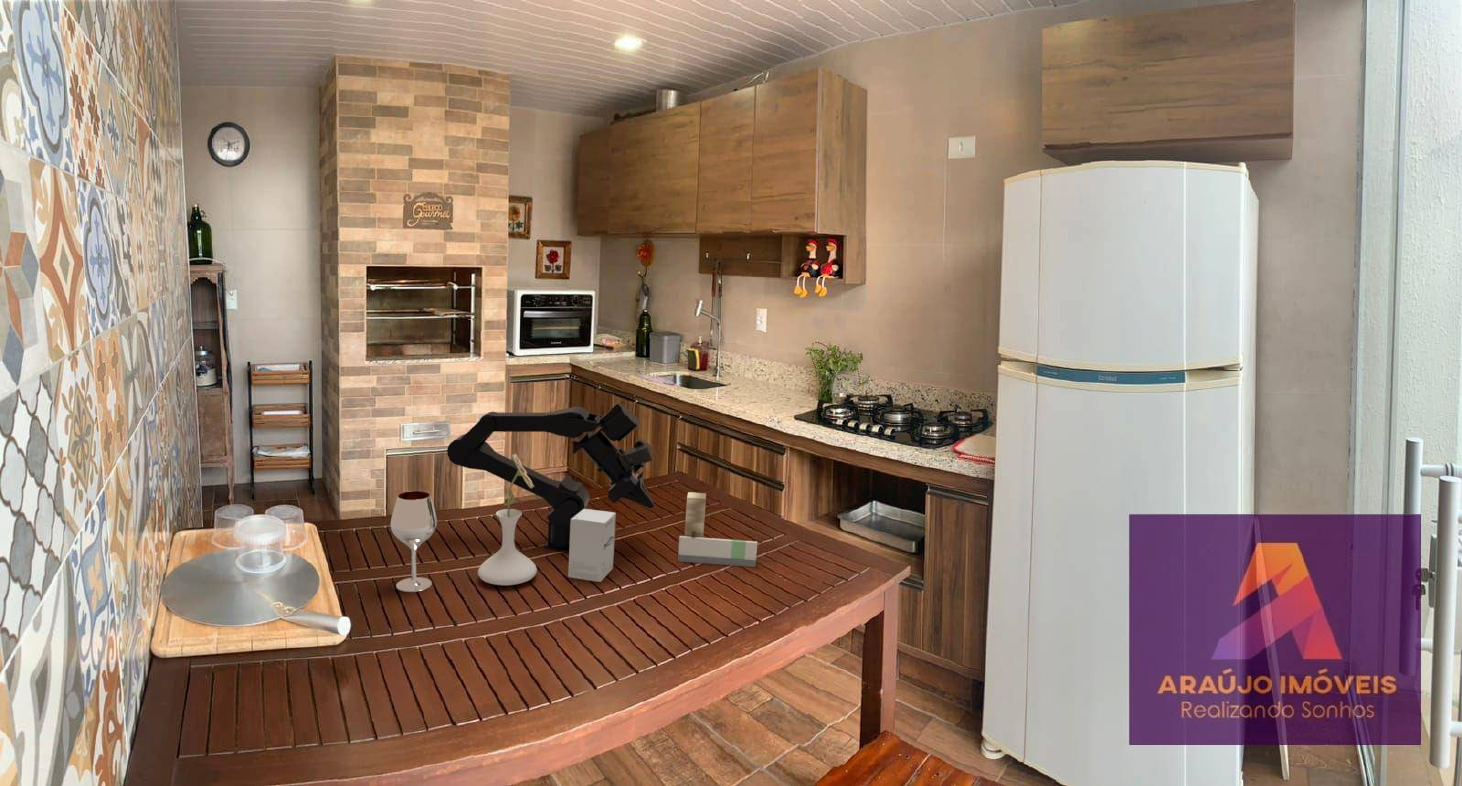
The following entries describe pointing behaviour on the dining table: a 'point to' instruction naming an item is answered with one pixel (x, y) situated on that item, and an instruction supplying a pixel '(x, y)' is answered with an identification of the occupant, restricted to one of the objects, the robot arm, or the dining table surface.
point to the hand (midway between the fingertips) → (652, 506)
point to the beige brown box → (695, 514)
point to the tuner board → (717, 551)
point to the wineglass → (413, 530)
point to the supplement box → (591, 545)
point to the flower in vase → (509, 546)
